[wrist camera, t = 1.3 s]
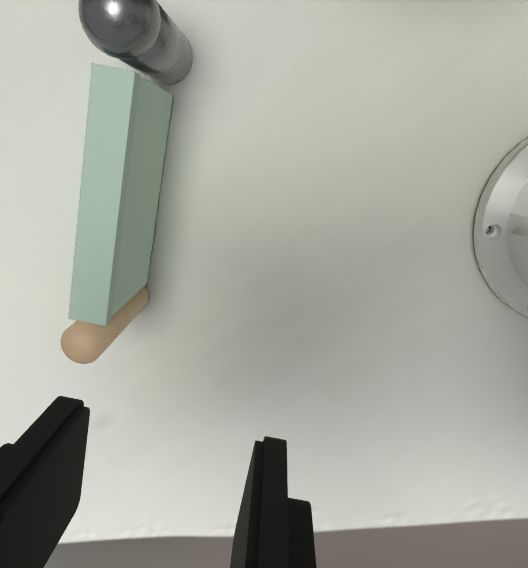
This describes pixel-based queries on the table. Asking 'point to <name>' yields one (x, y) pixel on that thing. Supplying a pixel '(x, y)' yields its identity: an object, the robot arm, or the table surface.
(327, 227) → the table surface
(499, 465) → the table surface
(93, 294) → the gate
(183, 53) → the hinge post
